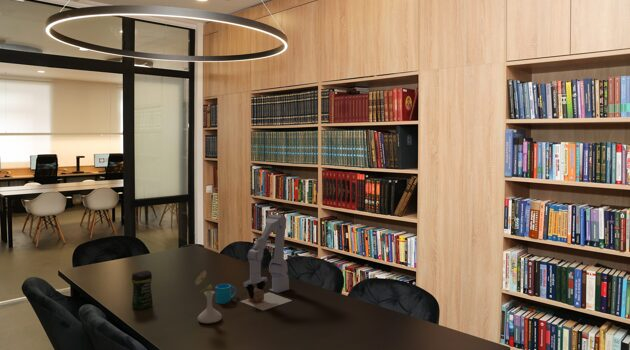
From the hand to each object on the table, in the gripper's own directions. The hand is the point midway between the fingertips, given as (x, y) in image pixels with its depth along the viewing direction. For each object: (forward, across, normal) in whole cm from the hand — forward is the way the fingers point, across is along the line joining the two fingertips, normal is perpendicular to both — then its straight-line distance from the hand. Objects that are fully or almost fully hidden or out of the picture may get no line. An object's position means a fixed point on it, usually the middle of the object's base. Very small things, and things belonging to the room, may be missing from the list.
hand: (255, 296), depth 244 cm
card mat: (+3, -4, +4) cm, 6 cm away
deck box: (+1, 0, 0) cm, 1 cm away
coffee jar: (+3, +45, -36) cm, 58 cm away
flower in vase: (+3, +32, +4) cm, 32 cm away
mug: (+3, +9, -14) cm, 17 cm away
